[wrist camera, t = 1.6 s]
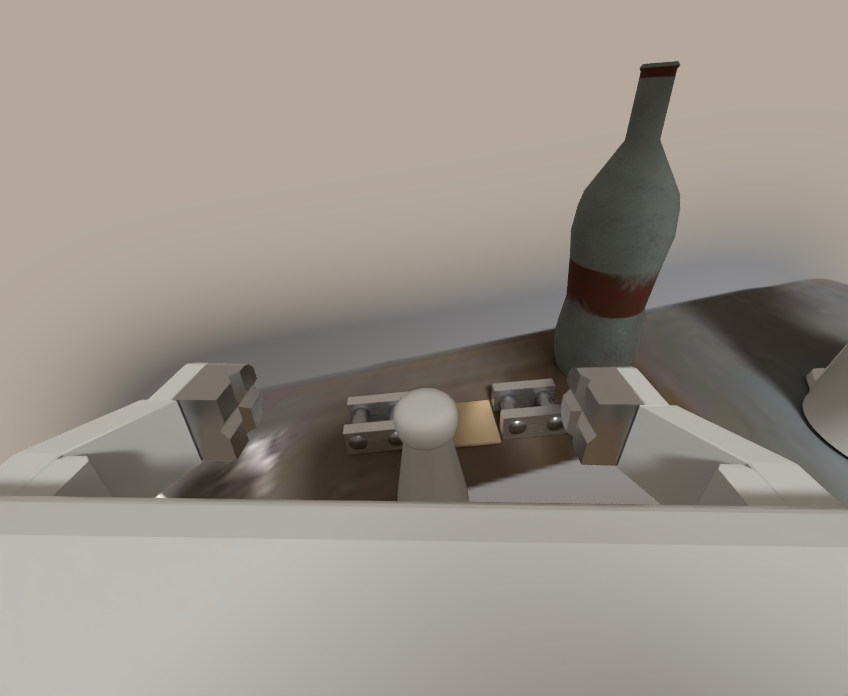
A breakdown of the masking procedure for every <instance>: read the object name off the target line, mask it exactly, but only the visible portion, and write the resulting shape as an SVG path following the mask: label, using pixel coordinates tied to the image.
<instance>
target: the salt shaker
mask: <svg viewBox="0 0 848 696" xmlns="http://www.w3.org/2000/svg"><path fill="white" fill-rule="evenodd" d="M457 427H458V413H457V408H456V404H455V401H454V400H453V399H452V398H451V397H450V396H449V395H448V394H446V393H444V392H442V391H439V390H437V389H432V388H421V389H417V390H413V391H411V392H409V393H408V394H406V395H404V396H403V397H401V398H400V399H399V401H398V402H397V404H396V405H395V407H394V428H395V432H396V433H397V435H398V436H399V438H400V439H401V441H402V442H403V449H402V458H401V467H400V476H399V485H398V501H429V502H469V497H468V490H467V486H466V483H465V479H464V476H463V472H462V469H461V466H460V462H459V459H458V455H457V452H456V449H455V445H454V442H453V436H454V434H455V432H456V430H457Z"/></svg>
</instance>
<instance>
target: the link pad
mask: <svg viewBox="0 0 848 696" xmlns="http://www.w3.org/2000/svg"><path fill="white" fill-rule="evenodd" d="M455 404H456V408H457V413H458V427H457V430H456V432H455V434H454V436H453V442H454V445H455V448H456V447H467V446H477V445H487V444H498V443H501V439H500V436H499V432H498V429H497V426H496V423H495V419H494V416H493V413H492V409H491V406H490V403H489V400H484V401H474V402H463V403H455Z"/></svg>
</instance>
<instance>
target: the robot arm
mask: <svg viewBox="0 0 848 696" xmlns="http://www.w3.org/2000/svg"><path fill="white" fill-rule="evenodd" d="M256 379H257V378H256V374H255V372H254V368H253V367H252V366H251V365H249V364H224V363H189V364H186V365H185V366H184V367H183V368H182V369H181V370H179V371H178V372H177V373H176V374H175V375H174V376H173V377H172V378H171V379H170V380H169V381H168V382H167V383H165V384H164V385H163V386H162V387H161V388H160V389H159V390H158V391H157V392H156V393H155V394H154V395H153V396H151V398H149V399H148V400H140V401H138V402H135V403H133V404H131V405H128V406H126V407H124V408H121V409H119V410H117V411H114V412H112V413H110V414H108V415H105V416H103V417H100V418H98V419H95V420H93V421H91V422H88V423H86V424H84V425H81V426H79V427H77V428H74V429H72V430H70V431H67V432H65V433H63V434H60V435H58V436H56V437H53V438H51V439H49V440H47V441H44V442H42V443H39V444H37V445H35V446H32V447H30V448H27V449H25V450H23V451H20V452H18V453H16V454H14V455H13V456H12V457H11V458H9V459H8V460H7V461H5V462H4V463H3V464H1V465H0V696H848V507H844V506H843V505H842V504H841V503H839V502H838V501H837V500H836V499H835V498H834V497H833V496H832V495H831V494H830V493H828V492H827V491H826V490H825V489H824V488H823V487H822V486H821V485H820V484H818V483H817V482H816V481H815V480H814V479H813V478H812V477H811V476H810V475H809V474H807V473H806V472H805V471H804V470H803V469H802V468H801V467H800V466H799V465H797V464H796V463H794V462H792V461H790V460H788V459H786V458H784V457H782V456H779V455H777V454H775V453H773V452H771V451H769V450H767V449H765V448H763V447H761V446H759V445H757V444H755V443H753V442H750V441H748V440H746V439H744V438H742V437H740V436H738V435H736V434H734V433H732V432H730V431H728V430H726V429H724V428H722V427H719V426H717V425H715V424H713V423H711V422H709V421H707V420H705V419H703V418H701V417H699V416H697V415H695V414H693V413H690V412H688V411H686V410H684V409H682V408H680V407H678V406H670V405H669V404H668V403H667V402H666V401H665V400H664V399H663V398H662V396H661V395H660V394H659V393H658V392H657V391H656V390H655V389H654V387H653V386H652V385H651V384H650V383H649V382H648V381H647V380H646V378H645V377H644V376H643V375H642V374H641V373H640V372H639V370H638V369H636V368H634V367H592V368H571V369H570V371H569V373H568V377H567V381H566V382H567V384H568V385H569V387H570V390H569V391H568V392H567V393H565V394H564V395H563V399H562V404H561V418H562V422H563V425H564V428H565V430H566V432H568V433H569V434H571V435H572V436H573V437H574V438H573V442H572V445H573V448H574V450H575V452H576V454H577V456H578V458H579V460H580V463H581V464H583V465H611V466H617V468H618V469H620V470H621V471H622V472H623V473H624V474H626V475H627V476H628V477H629V478H630V479H632V480H633V481H634V482H635V483H636V484H637V485H638V486H640V487H641V488H642V489H643V490H644V491H646V492H647V493H648V494H649V495H650V496H652V497H653V498H654V499H655V500H656V501H657V502H659V503H660V504H661V505H639V504H637V505H636V504H635V505H634V504H566V503H565V504H564V503H562V504H561V503H499V502H496V503H495V502H429V501H348V500H271V499H201V498H155V497H156V496H158V495H159V494H160V493H162V492H163V491H164V490H166V489H167V488H168V487H170V486H171V485H172V484H174V483H175V482H176V481H178V480H179V479H180V478H182V477H183V476H184V475H186V474H187V473H188V472H190V471H191V470H192V469H194V468H195V467H196V466H198V465H199V464H200V463H202V461H209V460H237V459H238V457H239V456H240V454H241V452H242V451H243V449H244V447H245V446H246V444H247V442H248V441H249V440H248V436H247V433H249V432H250V431H252V430H254V429H255V428H256V427H257V425H258V424H259V422H260V420H261V416H262V411H263V400H262V396H261V393H260V392H259V391H258V390H257V389H256V388H255V387H254V386H253V384H254V382H255V381H256ZM806 380H807V383H808V385H809V388H810V390H809V393H808V394H807V395H806V397H805V398H804V401H803V411H804V414H805V416H806V418H807V420H808V421H809V423H810V424H811V425H812V427H813V428H814V429H815V430H816V431H817V432H818V433H819V434H820V435H821V436H822V437H823V438H824V439H825V440H826V441H827V442H828V443H830V444H831V445H832V446H833V447H835V448H836V449H837V450H839V451H840V452H841V453H843V454H844V455H846V456H847V457H848V344H847V345H846V346H845V347H844V348H843V349H842V350H841V352H840V353H839V354H838V355H837V356H836V357H835V358H834V360H833V361H832V362H831V363H830V364H829V365H828V366H827V368H815V369H812V370H811V371H810V373H809V374H808V375H807V376H806Z"/></svg>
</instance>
